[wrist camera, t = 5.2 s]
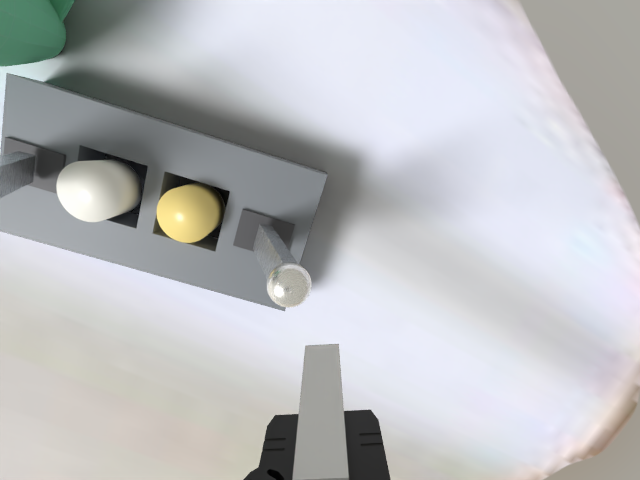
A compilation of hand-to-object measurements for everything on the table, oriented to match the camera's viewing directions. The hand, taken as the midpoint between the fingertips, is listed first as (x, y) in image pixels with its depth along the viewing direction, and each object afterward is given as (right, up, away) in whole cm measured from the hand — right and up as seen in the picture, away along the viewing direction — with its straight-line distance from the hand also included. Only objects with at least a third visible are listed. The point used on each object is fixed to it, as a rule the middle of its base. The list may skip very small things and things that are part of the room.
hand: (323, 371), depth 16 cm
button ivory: (-19, +11, +16) cm, 27 cm away
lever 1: (-25, +12, +14) cm, 32 cm away
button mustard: (-12, +9, +18) cm, 23 cm away
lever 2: (-5, +6, +16) cm, 18 cm away
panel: (-15, +10, +20) cm, 27 cm away
